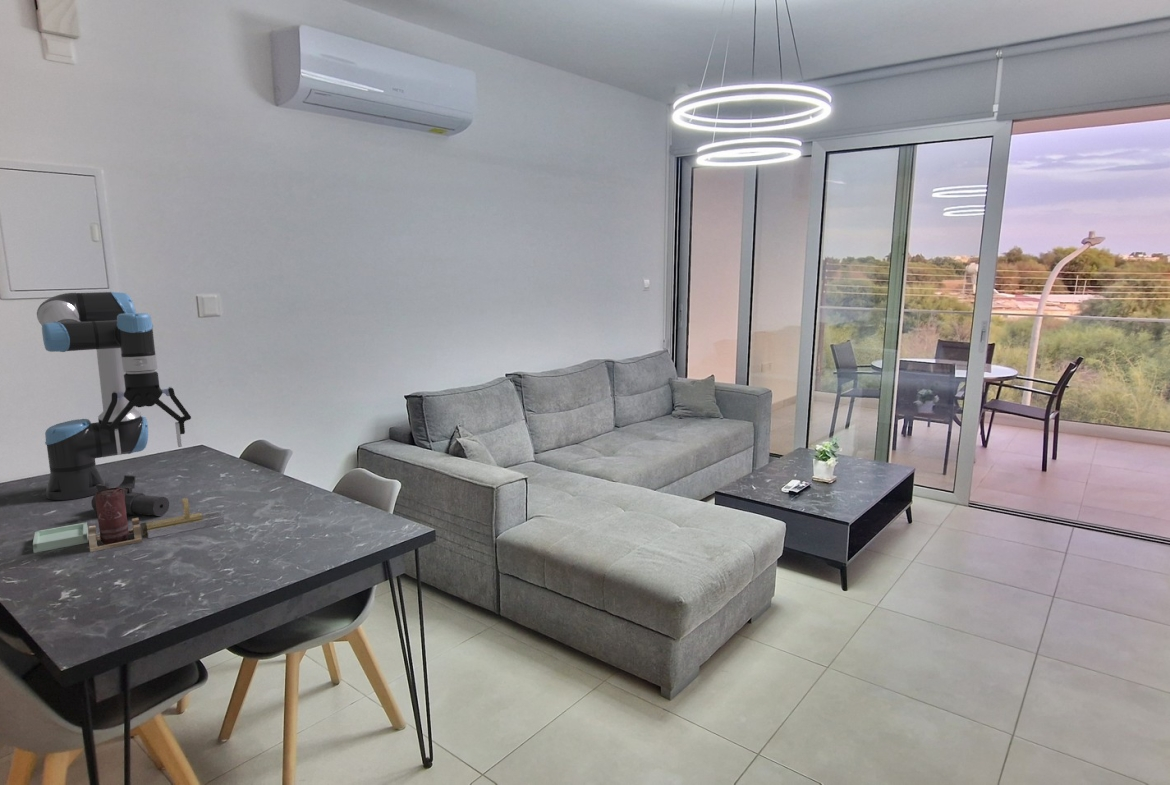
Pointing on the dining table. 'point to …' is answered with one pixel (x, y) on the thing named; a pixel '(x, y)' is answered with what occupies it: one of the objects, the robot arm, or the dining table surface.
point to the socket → (94, 538)
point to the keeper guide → (188, 525)
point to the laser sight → (138, 500)
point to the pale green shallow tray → (60, 537)
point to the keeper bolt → (171, 520)
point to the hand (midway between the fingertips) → (150, 450)
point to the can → (112, 515)
